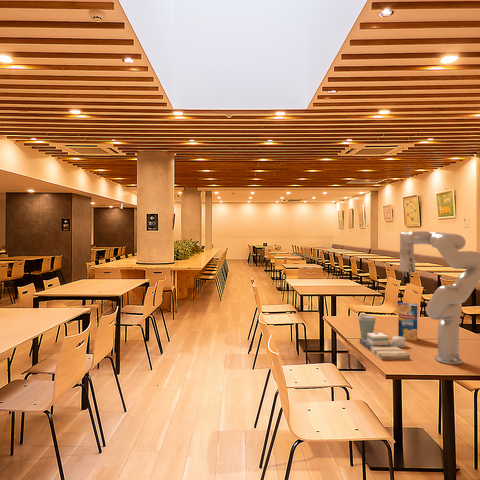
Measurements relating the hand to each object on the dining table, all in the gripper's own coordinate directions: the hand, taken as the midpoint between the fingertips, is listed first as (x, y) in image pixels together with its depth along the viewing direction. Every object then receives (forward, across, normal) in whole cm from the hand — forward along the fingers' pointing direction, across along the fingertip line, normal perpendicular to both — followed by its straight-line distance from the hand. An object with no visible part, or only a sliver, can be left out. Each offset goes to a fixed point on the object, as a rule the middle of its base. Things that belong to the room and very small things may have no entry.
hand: (406, 283), depth 221 cm
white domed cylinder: (+37, 0, +5) cm, 38 cm away
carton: (+35, -3, +19) cm, 40 cm away
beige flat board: (+37, -9, +18) cm, 42 cm away
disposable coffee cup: (+37, +16, +18) cm, 44 cm away
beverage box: (+37, +15, -8) cm, 41 cm away
